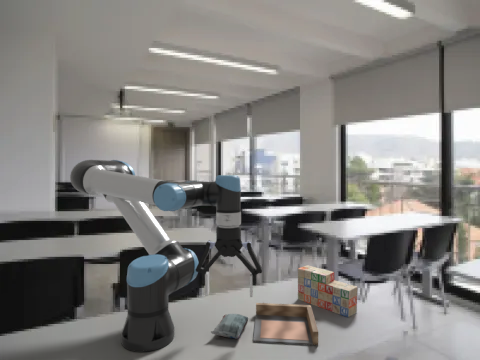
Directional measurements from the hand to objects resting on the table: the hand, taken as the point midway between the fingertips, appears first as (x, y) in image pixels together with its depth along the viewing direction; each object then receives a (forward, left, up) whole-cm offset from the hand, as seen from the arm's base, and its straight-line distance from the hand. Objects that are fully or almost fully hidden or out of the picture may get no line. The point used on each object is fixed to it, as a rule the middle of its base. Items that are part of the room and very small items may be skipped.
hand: (229, 295), depth 99 cm
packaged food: (0, 0, -12) cm, 12 cm away
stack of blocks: (+33, +23, -12) cm, 42 cm away
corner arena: (+17, +4, -12) cm, 21 cm away
